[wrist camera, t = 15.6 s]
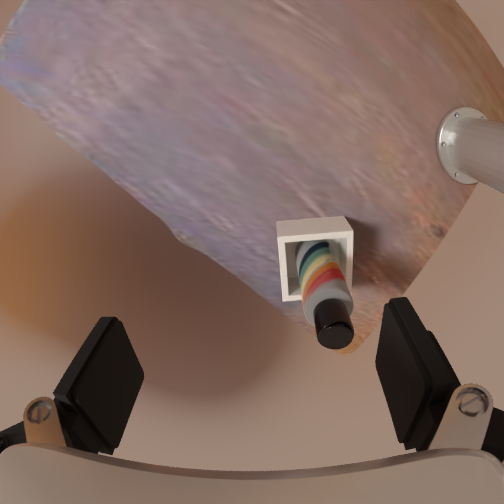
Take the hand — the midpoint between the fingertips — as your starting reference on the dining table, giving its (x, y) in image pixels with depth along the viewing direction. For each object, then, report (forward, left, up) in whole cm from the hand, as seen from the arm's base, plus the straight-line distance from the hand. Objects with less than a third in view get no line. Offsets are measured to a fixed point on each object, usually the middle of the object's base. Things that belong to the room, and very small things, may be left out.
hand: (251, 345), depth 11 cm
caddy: (-6, +14, -36) cm, 39 cm away
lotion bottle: (-6, +14, -36) cm, 39 cm away
